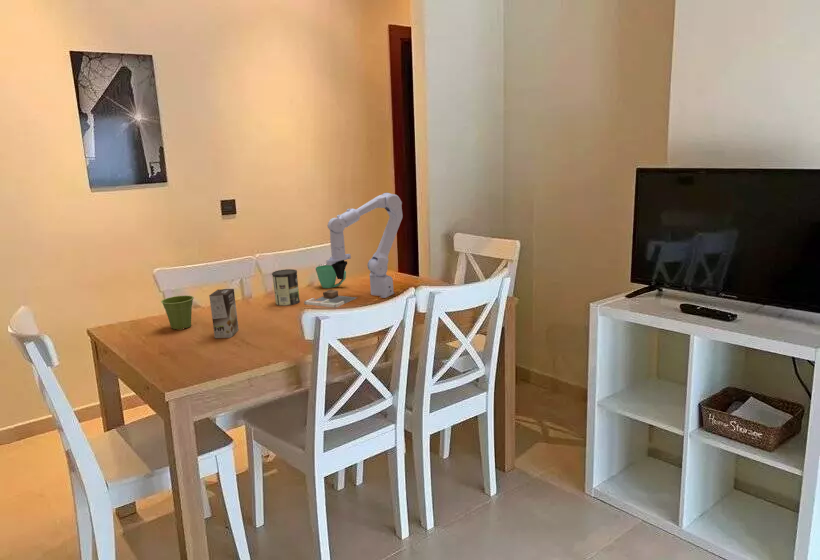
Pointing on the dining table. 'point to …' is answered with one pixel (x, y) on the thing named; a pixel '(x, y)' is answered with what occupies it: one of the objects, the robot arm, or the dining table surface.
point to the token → (330, 294)
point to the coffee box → (224, 313)
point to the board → (329, 301)
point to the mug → (328, 276)
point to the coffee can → (286, 287)
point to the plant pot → (179, 311)
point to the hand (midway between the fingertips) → (340, 278)
